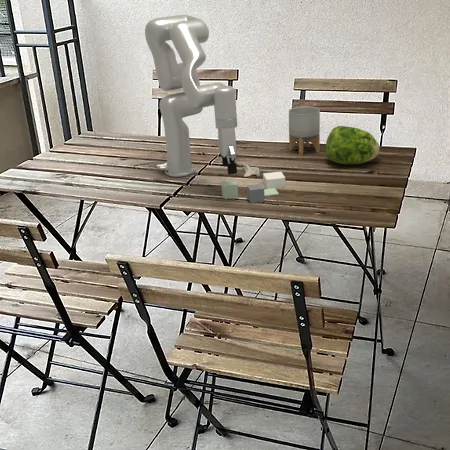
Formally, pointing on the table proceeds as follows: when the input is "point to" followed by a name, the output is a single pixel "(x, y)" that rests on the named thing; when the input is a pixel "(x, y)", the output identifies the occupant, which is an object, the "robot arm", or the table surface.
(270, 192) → the swatch
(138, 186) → the table surface
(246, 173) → the fossil
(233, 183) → the sage cube
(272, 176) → the base block
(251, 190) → the gray cube
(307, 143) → the planter
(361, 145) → the green rounded lump
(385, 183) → the table surface
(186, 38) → the robot arm
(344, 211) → the table surface
